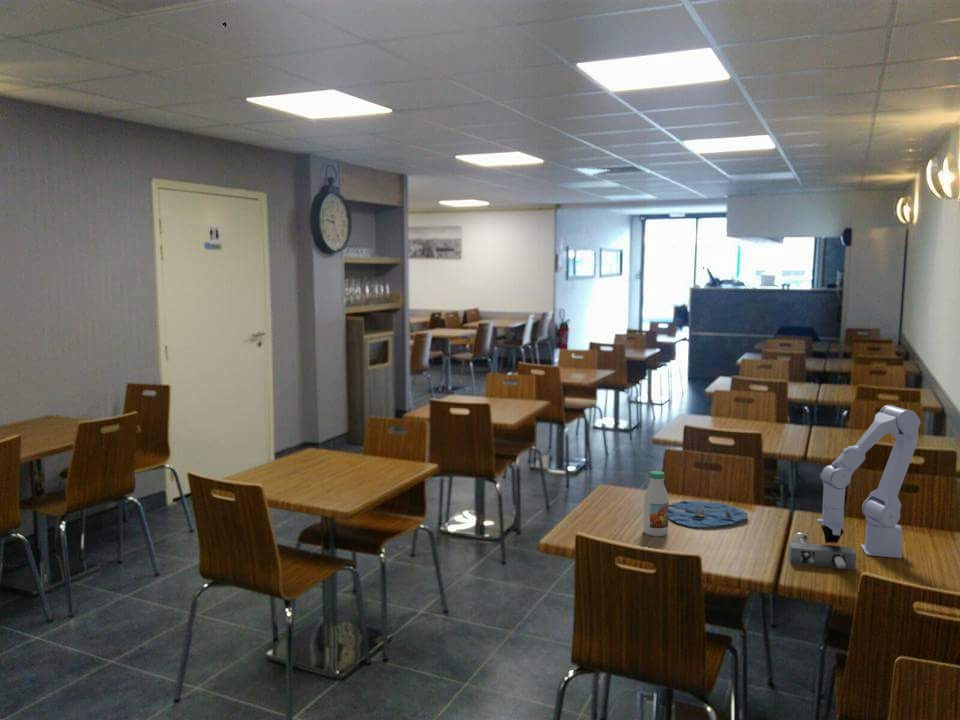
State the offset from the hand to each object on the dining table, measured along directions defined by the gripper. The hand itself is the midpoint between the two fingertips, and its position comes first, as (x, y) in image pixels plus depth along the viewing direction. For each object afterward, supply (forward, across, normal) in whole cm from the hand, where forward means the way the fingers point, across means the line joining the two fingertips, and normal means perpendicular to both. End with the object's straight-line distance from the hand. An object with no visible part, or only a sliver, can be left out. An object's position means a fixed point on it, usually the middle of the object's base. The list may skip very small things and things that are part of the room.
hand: (830, 550), depth 221 cm
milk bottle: (+1, -4, -51) cm, 51 cm away
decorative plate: (+2, -26, -36) cm, 45 cm away
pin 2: (+1, +8, 0) cm, 8 cm away
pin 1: (+1, +3, -8) cm, 9 cm away
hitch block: (+1, +9, -4) cm, 9 cm away
